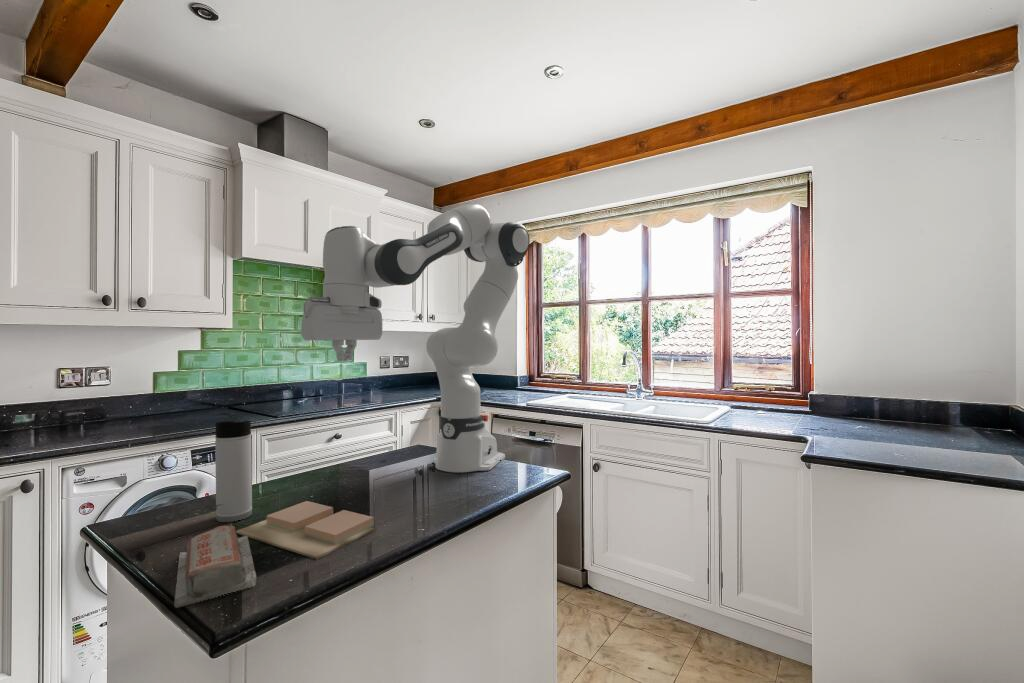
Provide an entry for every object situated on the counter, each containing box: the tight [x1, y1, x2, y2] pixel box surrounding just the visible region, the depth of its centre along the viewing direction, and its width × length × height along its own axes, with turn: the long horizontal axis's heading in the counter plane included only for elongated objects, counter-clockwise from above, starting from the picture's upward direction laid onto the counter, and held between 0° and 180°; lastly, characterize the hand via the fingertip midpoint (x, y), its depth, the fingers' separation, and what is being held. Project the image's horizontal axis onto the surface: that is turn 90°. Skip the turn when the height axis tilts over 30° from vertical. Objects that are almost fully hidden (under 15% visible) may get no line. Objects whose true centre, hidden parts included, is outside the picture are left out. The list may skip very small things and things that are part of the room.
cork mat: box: [235, 519, 376, 560], centre depth 87 cm, size 13×22×1 cm, turn 62°
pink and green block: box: [305, 509, 375, 544], centre depth 87 cm, size 2×8×9 cm
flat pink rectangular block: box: [266, 500, 334, 532], centre depth 92 cm, size 2×8×9 cm
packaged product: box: [173, 524, 257, 609], centre depth 73 cm, size 18×5×10 cm
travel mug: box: [214, 420, 253, 523], centre depth 94 cm, size 6×7×20 cm
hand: (344, 360), depth 104 cm, fingers closed
